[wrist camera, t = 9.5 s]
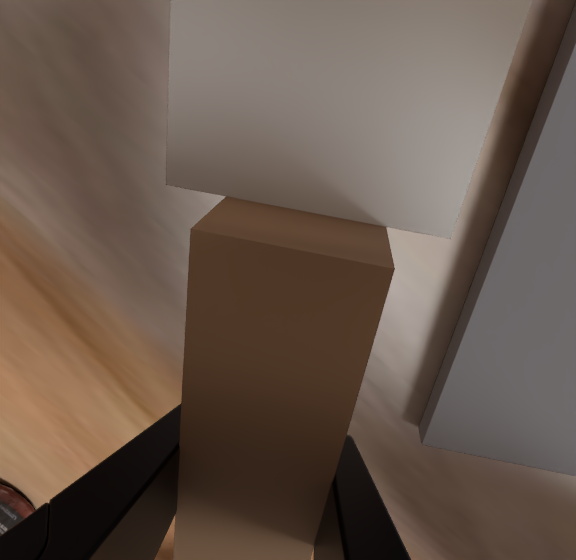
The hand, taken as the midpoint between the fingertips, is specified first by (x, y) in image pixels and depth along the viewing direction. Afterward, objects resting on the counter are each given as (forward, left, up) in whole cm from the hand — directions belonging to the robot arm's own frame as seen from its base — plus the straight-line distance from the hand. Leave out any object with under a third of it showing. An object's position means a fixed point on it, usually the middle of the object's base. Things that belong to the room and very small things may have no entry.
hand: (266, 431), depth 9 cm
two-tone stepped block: (+4, 0, -1) cm, 4 cm away
